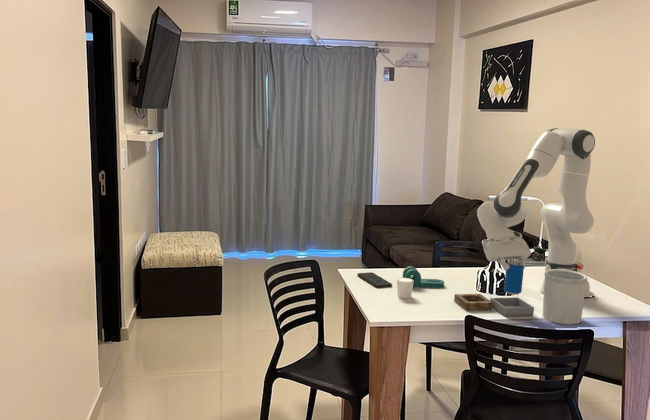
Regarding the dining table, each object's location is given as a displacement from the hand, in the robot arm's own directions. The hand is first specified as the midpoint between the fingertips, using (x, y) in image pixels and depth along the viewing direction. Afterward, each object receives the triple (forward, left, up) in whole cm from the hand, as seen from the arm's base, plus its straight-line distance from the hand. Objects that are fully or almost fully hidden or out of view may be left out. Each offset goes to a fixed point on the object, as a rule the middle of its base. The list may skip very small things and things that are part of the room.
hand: (516, 268), depth 221 cm
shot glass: (+37, -22, -18) cm, 46 cm away
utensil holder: (-15, +9, -18) cm, 25 cm away
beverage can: (0, -1, -10) cm, 10 cm away
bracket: (+23, -36, -18) cm, 46 cm away
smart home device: (+43, -44, -18) cm, 64 cm away
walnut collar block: (+13, -8, -17) cm, 23 cm away
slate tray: (0, -1, -17) cm, 17 cm away
